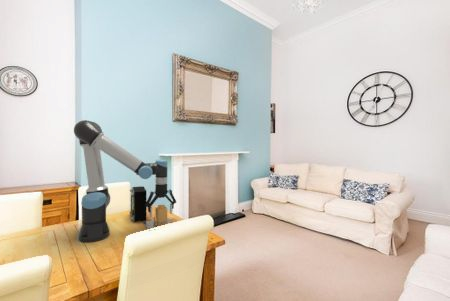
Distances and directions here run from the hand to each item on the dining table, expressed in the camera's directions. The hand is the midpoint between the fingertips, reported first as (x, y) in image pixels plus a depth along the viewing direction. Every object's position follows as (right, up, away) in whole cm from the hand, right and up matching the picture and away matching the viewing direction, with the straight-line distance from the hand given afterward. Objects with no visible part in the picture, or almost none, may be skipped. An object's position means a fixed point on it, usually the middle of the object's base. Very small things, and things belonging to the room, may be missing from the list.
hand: (161, 215), depth 153 cm
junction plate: (0, -5, -5) cm, 7 cm away
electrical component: (-18, -4, +8) cm, 20 cm away
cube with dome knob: (0, -3, 0) cm, 3 cm away
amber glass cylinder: (-1, -5, -9) cm, 10 cm away
